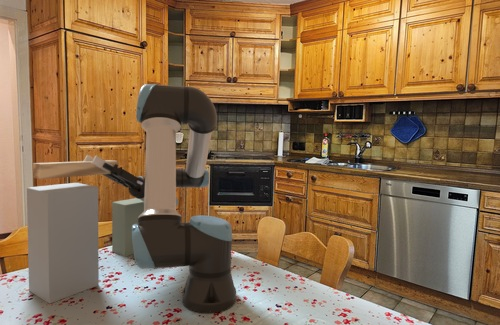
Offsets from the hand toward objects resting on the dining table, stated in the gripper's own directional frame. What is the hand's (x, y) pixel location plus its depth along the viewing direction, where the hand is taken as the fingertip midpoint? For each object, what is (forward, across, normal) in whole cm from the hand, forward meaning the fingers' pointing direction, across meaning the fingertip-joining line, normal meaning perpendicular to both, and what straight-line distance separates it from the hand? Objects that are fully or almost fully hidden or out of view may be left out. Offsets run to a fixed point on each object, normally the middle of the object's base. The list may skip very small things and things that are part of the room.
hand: (89, 159), depth 101 cm
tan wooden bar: (+1, 0, -6) cm, 6 cm away
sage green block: (-41, +12, -20) cm, 47 cm away
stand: (-12, 0, -37) cm, 39 cm away
